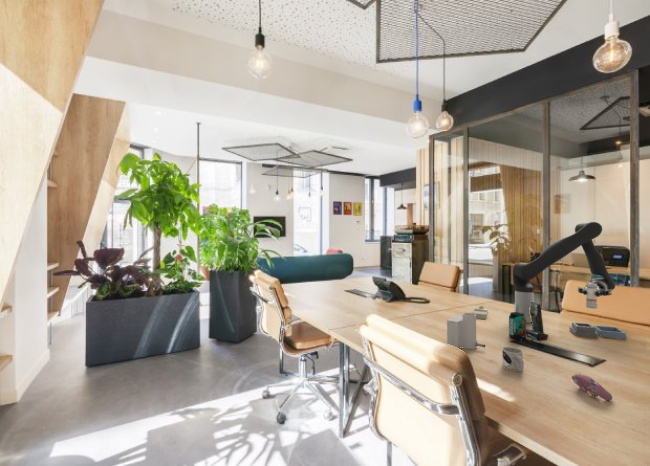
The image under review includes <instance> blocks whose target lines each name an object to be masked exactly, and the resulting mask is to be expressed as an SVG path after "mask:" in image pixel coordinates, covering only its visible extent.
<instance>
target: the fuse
mask: <svg viewBox="0 0 650 466" xmlns="http://www.w3.org/2000/svg"><path fill="white" fill-rule="evenodd" d="M585 287H586V295H585V302H586V303H585V308H587V309H588V308H589V309H595V310H596V309H598V297H597V296H596V291H597V284H596V283H590V282H585Z"/></svg>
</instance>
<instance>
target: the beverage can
mask: <svg viewBox="0 0 650 466" xmlns="http://www.w3.org/2000/svg"><path fill="white" fill-rule="evenodd" d="M508 336H509V338H510V339H512V340H515V339H518V340H517V341H520V340H519V339H525V338H526V339H527V323H526V318H525V316H524V314H523V313H518V312H514V311H513V312H510V314H509V316H508ZM526 339H525V340H526Z"/></svg>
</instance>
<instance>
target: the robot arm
mask: <svg viewBox="0 0 650 466" xmlns="http://www.w3.org/2000/svg"><path fill="white" fill-rule="evenodd" d="M602 232H603V226H602V224H601V223H599V222H597V221H585V222H579V223H577V224H576V225H575V227H574V233H573V234H570V235H567V236H566V237H563V238H560V239H557V240H555V241H554V242H552V243H550V244H549V245H547V246H546V247H545V248H544V249H543V250H542V252H541V253H540V255H539V256H538V257H537V258H536V259H534V260H532V261H530V262H528V263H526V262H525V263H524V262H518V263H515V264H514V266H513V268H512V283H513V287H514V304H513V305H514V311H513V312H518V313H523V314H524V316H525V318H526V324H532V323H531V318H530V314H529V307H530V304H531V302H534V303H535V288H534V286H533V285H532V284H531V281H530V280H533V279H536V278H537V276H539V275H540V274H541V273H542V272H544V271H545V270H546V269H547V268H549V267H551V266H552V265H554V264H555V263H556V262H558V261H560V260H561V259H563V258H564V257H566V256H568V255H569V254H570V253H572V252H573V251H575V250H577V249H578V248H580V247H582V250H583V252H584V255H585V257H586V261H587V263H588V266H589V267H588V268H589V271H590V273H591V274H592V275H595V276H601V277H598V278H597V277H596V278H591V279H590V281H589V283H596V284H597V291H596V296H597V298H599V297H601V296H604V297H607V296H612V293H613V292H612V291H613V290H615V288H616V282H615V281H614V279H613V278H612V277H611V275H610V274H609V272H608V269H607V266H606V263H605V260H604V257H603V256H602V254H601V253H600V252H599V250H598V249H597V247H596V246H595V244H594V242H593V240H594V239H596V238H598V237H599V236H600V235H601V234H602ZM577 292H578V293H579V294H583V295H584V296H586V286H585V287H583V286H581V285H580V286H577Z"/></svg>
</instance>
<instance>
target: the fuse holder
mask: <svg viewBox="0 0 650 466" xmlns="http://www.w3.org/2000/svg"><path fill="white" fill-rule="evenodd" d="M569 332H571V333H572V334H573V335H574V336H575V337H586V338H595V339H598V338H599V335H598V333H596V332H595V327H593V325H592V324H591V323H587V322H575V321H573V322H571V326H569Z"/></svg>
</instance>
